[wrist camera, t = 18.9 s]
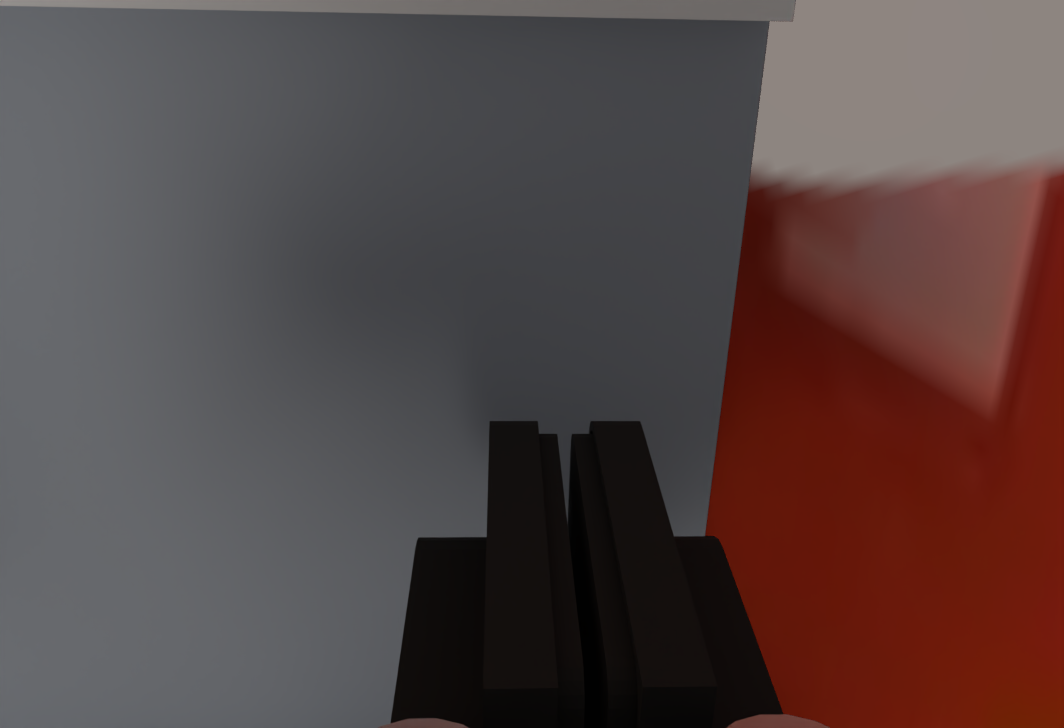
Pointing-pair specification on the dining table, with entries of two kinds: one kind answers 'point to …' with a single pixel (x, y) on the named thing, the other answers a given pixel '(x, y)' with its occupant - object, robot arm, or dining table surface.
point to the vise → (333, 317)
